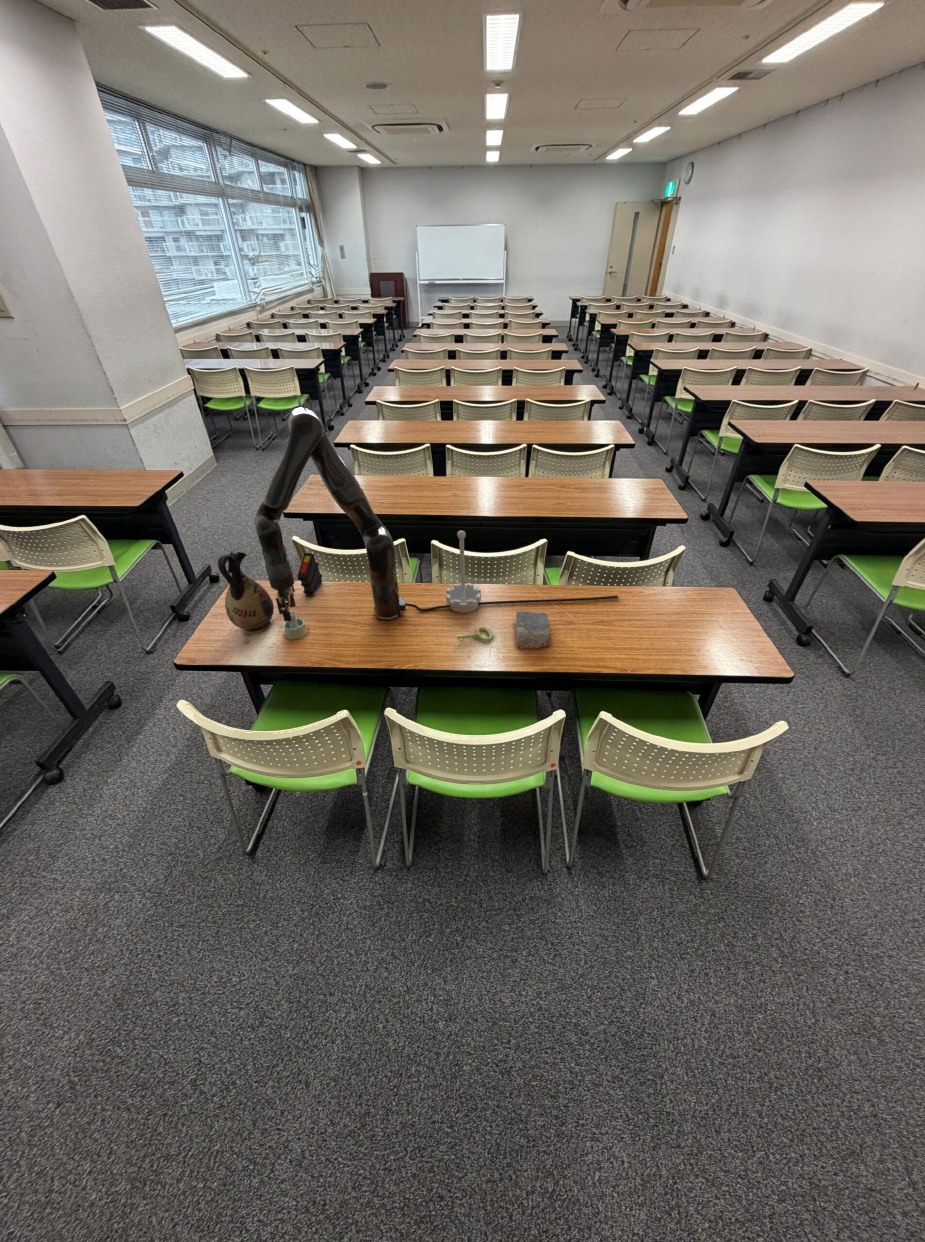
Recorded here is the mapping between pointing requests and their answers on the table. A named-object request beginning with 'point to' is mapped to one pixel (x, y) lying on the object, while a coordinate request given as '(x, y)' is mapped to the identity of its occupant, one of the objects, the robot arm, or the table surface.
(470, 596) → the flag stand
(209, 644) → the table surface
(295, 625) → the rook chess piece
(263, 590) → the ceramic jug
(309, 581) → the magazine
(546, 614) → the geological specimen
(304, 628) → the cup
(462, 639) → the key
